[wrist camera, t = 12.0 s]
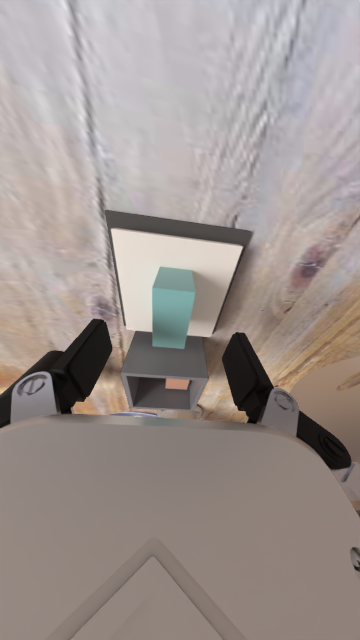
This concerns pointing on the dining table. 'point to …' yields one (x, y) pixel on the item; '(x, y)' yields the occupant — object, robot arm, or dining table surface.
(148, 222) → the mat
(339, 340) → the dining table surface
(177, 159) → the dining table surface
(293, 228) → the dining table surface
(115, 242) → the lid
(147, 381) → the storage box
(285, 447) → the robot arm
